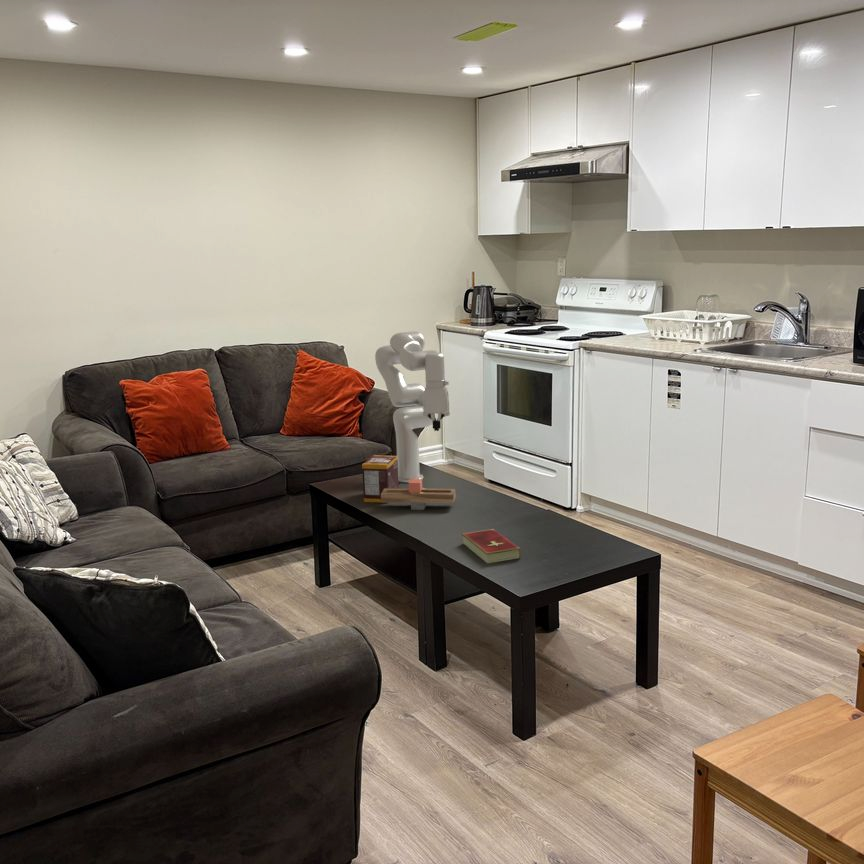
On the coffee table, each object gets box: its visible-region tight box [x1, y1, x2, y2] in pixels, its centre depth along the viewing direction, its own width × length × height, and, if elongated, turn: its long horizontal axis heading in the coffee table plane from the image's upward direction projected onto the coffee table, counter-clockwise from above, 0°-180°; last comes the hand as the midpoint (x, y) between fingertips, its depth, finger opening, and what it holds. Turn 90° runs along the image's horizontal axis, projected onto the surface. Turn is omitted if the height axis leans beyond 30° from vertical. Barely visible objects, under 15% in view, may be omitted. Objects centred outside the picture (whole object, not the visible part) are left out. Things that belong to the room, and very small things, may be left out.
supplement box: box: [361, 454, 400, 504], centre depth 345 cm, size 10×15×16 cm
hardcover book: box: [461, 528, 522, 564], centre depth 282 cm, size 12×21×4 cm, turn 20°
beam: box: [381, 487, 457, 511], centre depth 331 cm, size 8×28×6 cm, turn 83°
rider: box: [408, 479, 423, 493], centre depth 330 cm, size 6×4×6 cm
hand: (436, 430), depth 340 cm, fingers closed
